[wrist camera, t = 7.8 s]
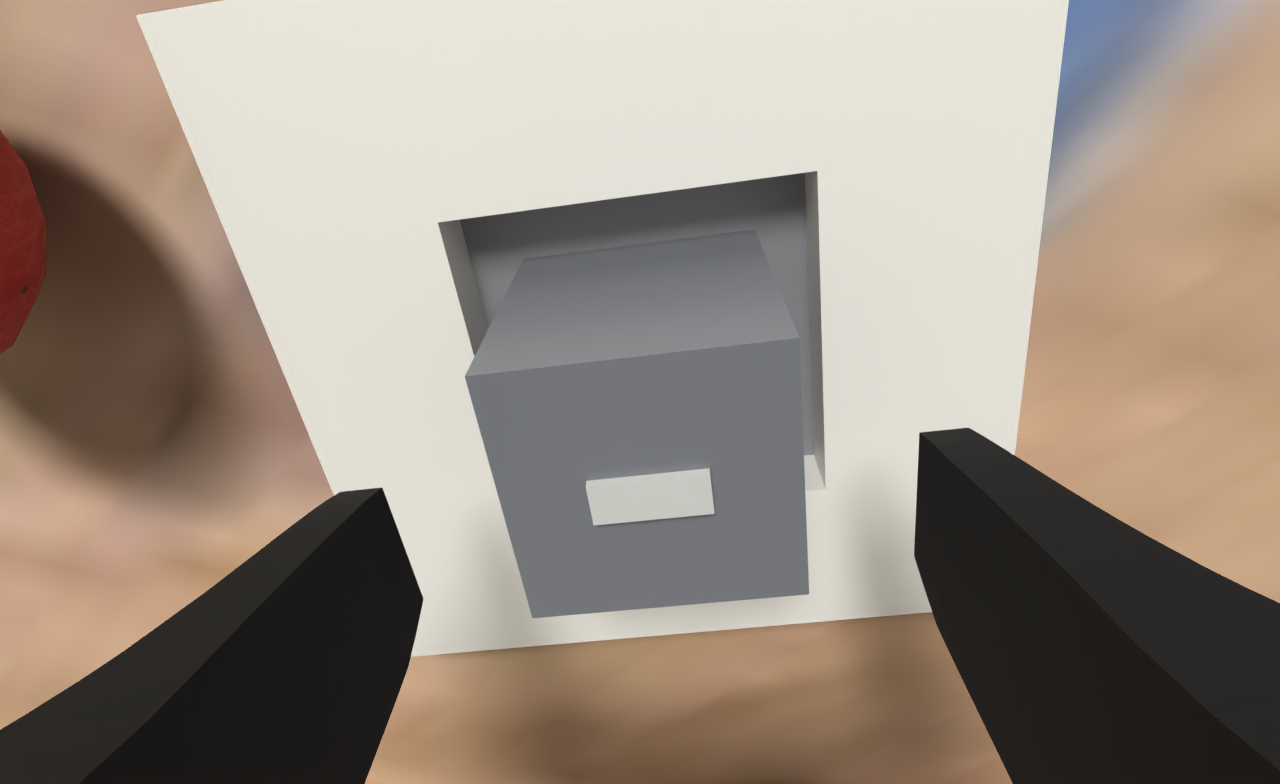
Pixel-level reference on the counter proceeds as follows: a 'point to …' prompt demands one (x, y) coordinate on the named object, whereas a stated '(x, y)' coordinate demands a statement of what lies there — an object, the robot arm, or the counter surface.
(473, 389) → the block
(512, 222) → the white square board
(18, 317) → the onion
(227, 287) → the counter surface
